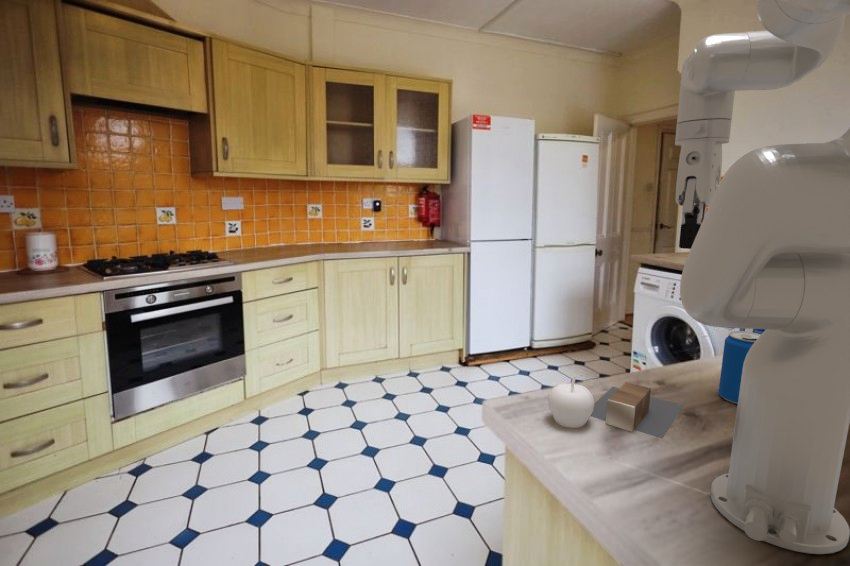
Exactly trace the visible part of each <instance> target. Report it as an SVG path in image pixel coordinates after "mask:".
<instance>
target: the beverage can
mask: <svg viewBox="0 0 850 566" xmlns="http://www.w3.org/2000/svg"><path fill="white" fill-rule="evenodd" d="M761 334H762V333H761ZM761 334H760V333H757V332H752V331H743V330H732V331H730V332H729V333H728V336H727V337H725V339H724V345H723V352H722V361H721V370H720V376H719V384H718V391H717V393H718V395H719V396H720V397H721V398H723V399H724V400H726V401H728V402H730V403H732V404H736V405H738V399H739V391H740V384H741V376H742V370H743V364H744V361H745V358H746V355H747V353H748V351H749V350H750V348H751V347H752V345H753V344H754V342H755V341H756V340H757V339H758V338H759V336H760V335H761Z"/></svg>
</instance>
